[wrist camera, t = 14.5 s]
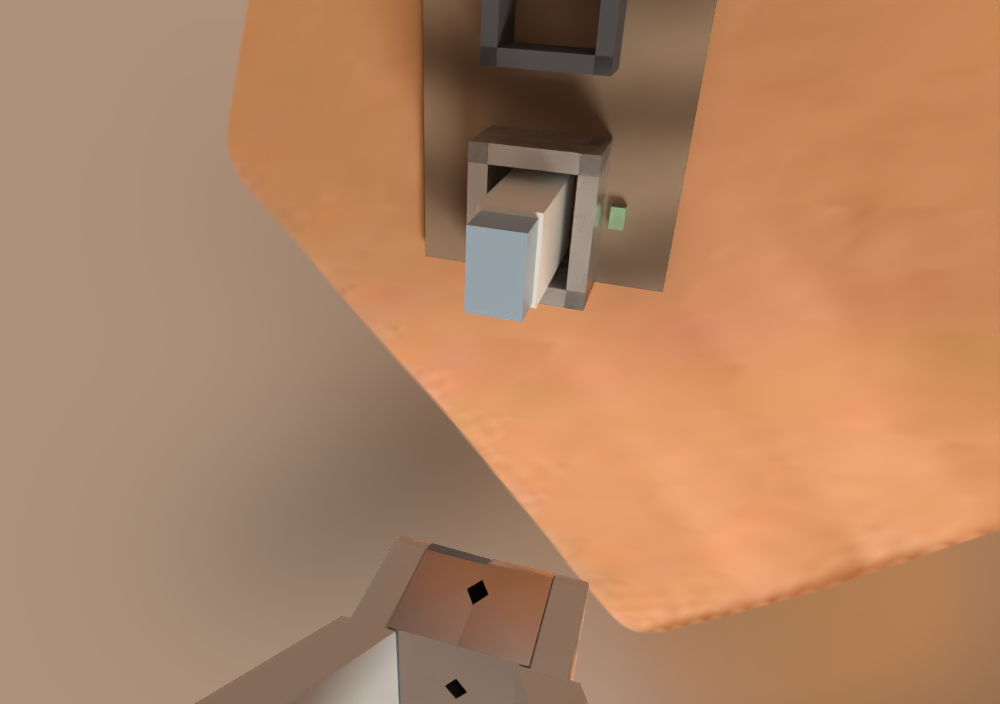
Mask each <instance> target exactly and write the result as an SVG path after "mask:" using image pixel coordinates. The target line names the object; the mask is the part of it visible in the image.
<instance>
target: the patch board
mask: <svg viewBox="0 0 1000 704" xmlns="http://www.w3.org/2000/svg"><path fill="white" fill-rule="evenodd" d="M716 2H717V0H627V7H626V15H625V23H624V31H623V39H622V47H621V55H620V63H619V69H618V70H617V71H616V72H615V73H614V74H613V75H612V76H600V75H589V74H577V73H566V72H554V71H543V70H531V69H520V68H508V67H497V66H485V65H480V38H481V3H482V0H423V63H424V159H425V255H426V256H428V257H435V258H441V259H448V260H454V261H461V262H465V260H466V225H467V183H468V141H469V140H470V139H472V138H473V137H475V136H476V135H478V134H479V133H481V132H482V131H484V130H485V129H487V128H488V127H490V126H491V125H496V126H505V127H515V128H524V129H533V130H543V131H552V132H562V133H571V134H581V135H590V136H599V137H609V138H613V142H612V150H611V158H610V166H609V174H608V181H607V189H606V197H605V205H604V213H603V220H602V228H601V236H600V244H599V252H598V260H597V267H596V275H595V282H599V283H606V284H612V285H619V286H625V287H632V288H638V289H645V290H652V291H658V292H663V288H664V282H665V277H666V271H667V266H668V261H669V255H670V250H671V244H672V239H673V234H674V228H675V223H676V217H677V212H678V207H679V201H680V196H681V191H682V185H683V180H684V174H685V169H686V164H687V158H688V153H689V147H690V142H691V137H692V131H693V126H694V120H695V115H696V110H697V104H698V99H699V93H700V88H701V83H702V77H703V72H704V66H705V61H706V56H707V50H708V45H709V40H710V34H711V29H712V23H713V18H714V13H715V7H716ZM600 6H601V0H516V5H515V24H514V42H519V43H532V44H544V45H557V46H570V47H583V48H595V49H596V43H597V33H598V24H599V15H600ZM513 168H515V167H508V173H509V172H510V171H511V170H512V169H513ZM577 181H578V175H575V185H574V195H573V204H572V214H571V223H570V233H569V243H568V249H567V251H566V253H565V255H564V257H563V259H562V260H569V257H570V248H571V238H572V229H573V219H574V210H575V200H576V191H577ZM612 204H620V205H627V212H626V219H625V225H624V229H623V231H621V230H614V229H608V224H609V217H610V209H611V205H612Z"/></svg>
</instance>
